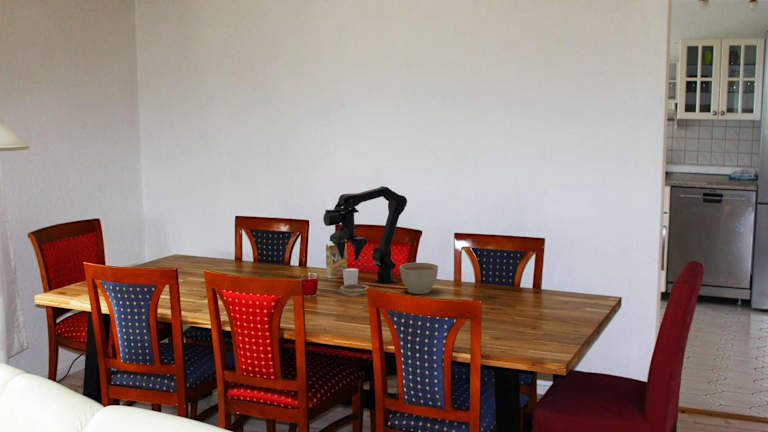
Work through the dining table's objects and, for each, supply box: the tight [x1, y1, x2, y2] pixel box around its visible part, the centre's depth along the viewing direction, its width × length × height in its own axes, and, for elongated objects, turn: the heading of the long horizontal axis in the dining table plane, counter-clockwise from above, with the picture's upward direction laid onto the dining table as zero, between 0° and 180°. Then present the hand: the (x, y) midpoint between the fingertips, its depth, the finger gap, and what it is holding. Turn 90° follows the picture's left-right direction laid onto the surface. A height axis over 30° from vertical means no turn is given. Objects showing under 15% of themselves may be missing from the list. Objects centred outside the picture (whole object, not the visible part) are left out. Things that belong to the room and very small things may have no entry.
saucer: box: [334, 283, 370, 299], centre depth 342 cm, size 12×12×2 cm
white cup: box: [342, 267, 359, 285], centre depth 356 cm, size 7×7×7 cm
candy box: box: [325, 243, 348, 279], centre depth 371 cm, size 9×4×15 cm, turn 118°
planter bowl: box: [399, 262, 439, 295], centre depth 343 cm, size 16×16×11 cm
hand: (349, 259), depth 353 cm, fingers open, 9 cm apart
